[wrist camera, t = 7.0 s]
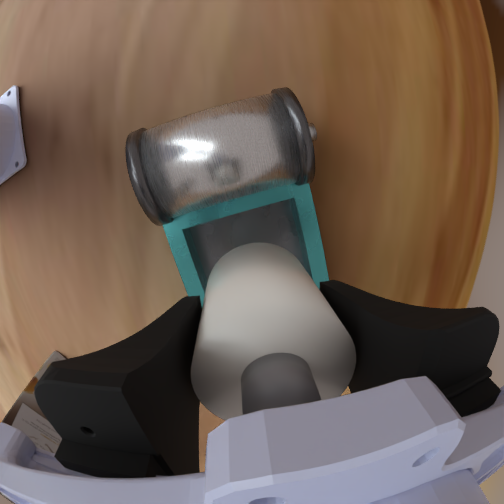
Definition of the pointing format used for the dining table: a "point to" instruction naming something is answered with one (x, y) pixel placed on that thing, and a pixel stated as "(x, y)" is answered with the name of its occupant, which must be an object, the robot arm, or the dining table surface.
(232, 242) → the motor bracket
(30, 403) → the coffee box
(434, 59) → the dining table surface
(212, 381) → the white capped bottle
